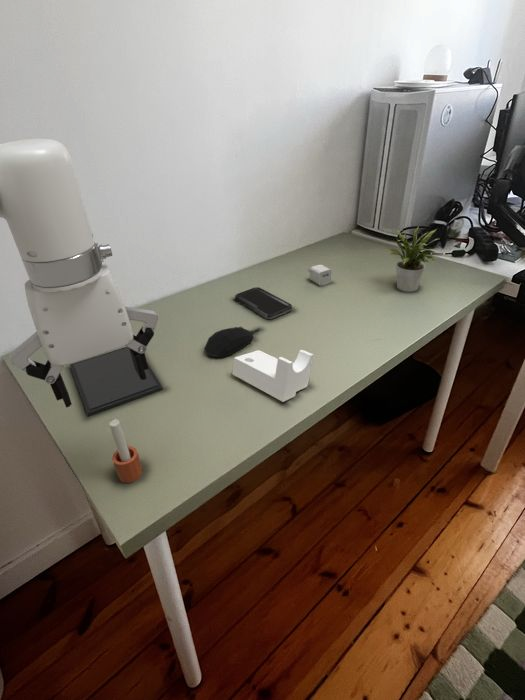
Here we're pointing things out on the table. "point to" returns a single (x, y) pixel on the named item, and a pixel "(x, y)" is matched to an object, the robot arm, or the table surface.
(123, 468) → the pen holder
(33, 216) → the robot arm
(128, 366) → the tablet
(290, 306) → the phone
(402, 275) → the house plant
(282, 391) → the bracket
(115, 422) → the stylus
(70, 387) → the table surface
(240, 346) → the gaming mouse
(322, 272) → the usb wall charger
